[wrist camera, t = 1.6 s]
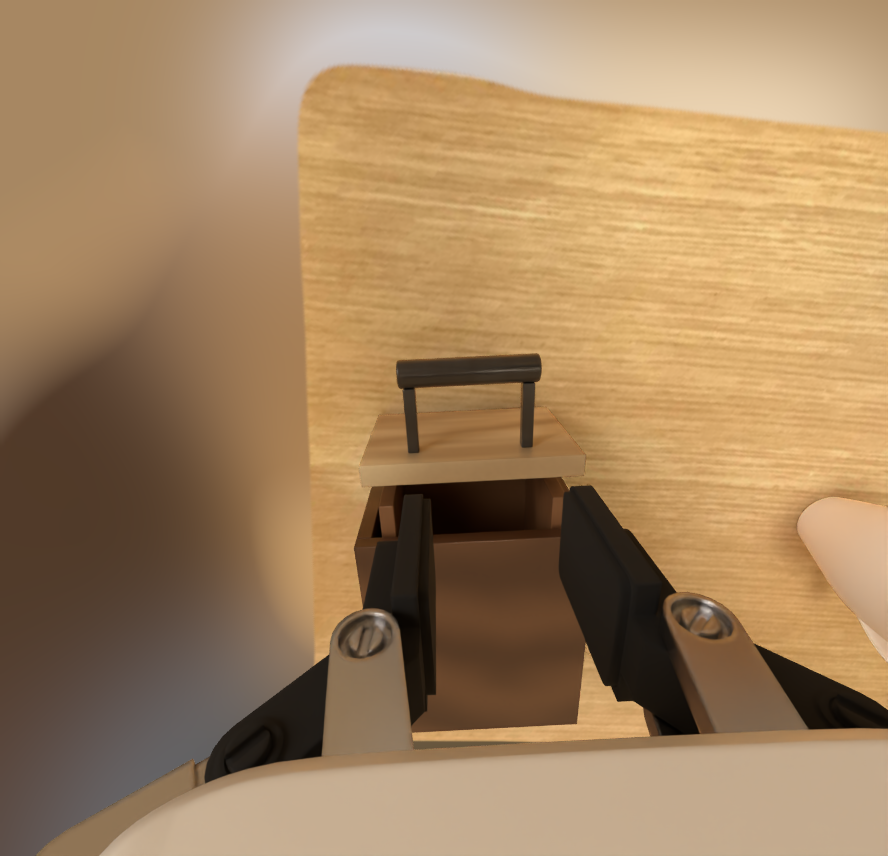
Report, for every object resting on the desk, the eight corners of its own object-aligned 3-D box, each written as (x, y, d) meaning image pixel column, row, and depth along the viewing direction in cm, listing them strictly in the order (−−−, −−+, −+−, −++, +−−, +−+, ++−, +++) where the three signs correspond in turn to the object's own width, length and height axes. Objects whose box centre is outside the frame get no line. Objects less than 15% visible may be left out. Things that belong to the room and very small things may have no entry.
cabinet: (377, 464, 30) (353, 548, 21) (548, 456, 30) (597, 535, 21) (395, 616, 35) (382, 734, 26) (540, 609, 35) (576, 724, 26)
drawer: (370, 341, 26) (345, 370, 19) (550, 333, 26) (595, 357, 19) (396, 574, 32) (385, 662, 25) (538, 567, 33) (568, 652, 25)
